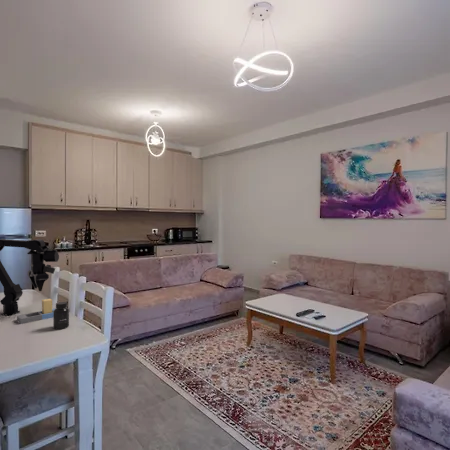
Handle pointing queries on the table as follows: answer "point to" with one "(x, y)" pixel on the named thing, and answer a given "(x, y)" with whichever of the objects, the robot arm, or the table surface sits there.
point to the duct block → (33, 317)
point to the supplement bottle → (61, 316)
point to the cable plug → (46, 306)
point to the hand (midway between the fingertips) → (38, 289)
